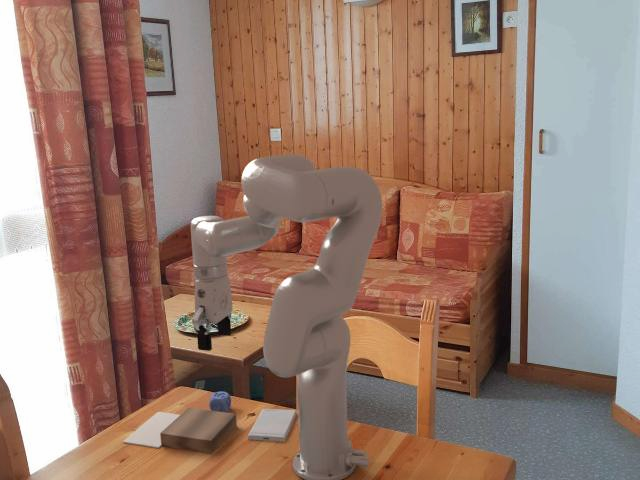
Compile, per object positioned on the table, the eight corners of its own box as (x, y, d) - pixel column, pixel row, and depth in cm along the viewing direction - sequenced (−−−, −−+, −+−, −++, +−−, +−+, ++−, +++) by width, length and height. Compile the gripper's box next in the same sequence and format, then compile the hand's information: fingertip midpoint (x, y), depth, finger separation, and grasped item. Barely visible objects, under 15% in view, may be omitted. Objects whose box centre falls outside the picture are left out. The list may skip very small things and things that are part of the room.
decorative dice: (216, 406, 154) (215, 390, 153) (231, 407, 153) (230, 392, 153) (209, 413, 150) (208, 398, 150) (225, 415, 150) (224, 399, 149)
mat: (191, 417, 149) (191, 416, 149) (158, 448, 136) (158, 447, 136) (158, 412, 152) (157, 411, 152) (122, 442, 139) (122, 441, 139)
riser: (236, 426, 144) (235, 413, 144) (211, 453, 133) (210, 440, 132) (189, 419, 148) (188, 407, 147) (161, 446, 137) (160, 433, 136)
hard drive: (262, 408, 150) (247, 434, 138) (296, 409, 149) (284, 436, 137) (262, 414, 150) (247, 441, 138) (296, 416, 149) (284, 443, 137)
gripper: (207, 282, 136) (212, 358, 139) (242, 262, 152) (245, 330, 155) (176, 280, 138) (181, 354, 142) (213, 260, 154) (217, 327, 158)
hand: (215, 341), depth 149 cm, fingers open, 9 cm apart
